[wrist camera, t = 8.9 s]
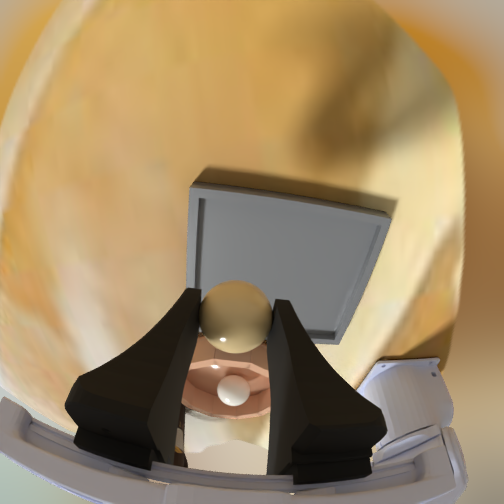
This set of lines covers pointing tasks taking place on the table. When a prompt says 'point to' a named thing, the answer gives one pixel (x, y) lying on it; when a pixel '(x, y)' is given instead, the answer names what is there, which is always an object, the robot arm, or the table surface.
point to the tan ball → (235, 316)
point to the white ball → (233, 390)
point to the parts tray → (285, 250)
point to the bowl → (219, 366)
